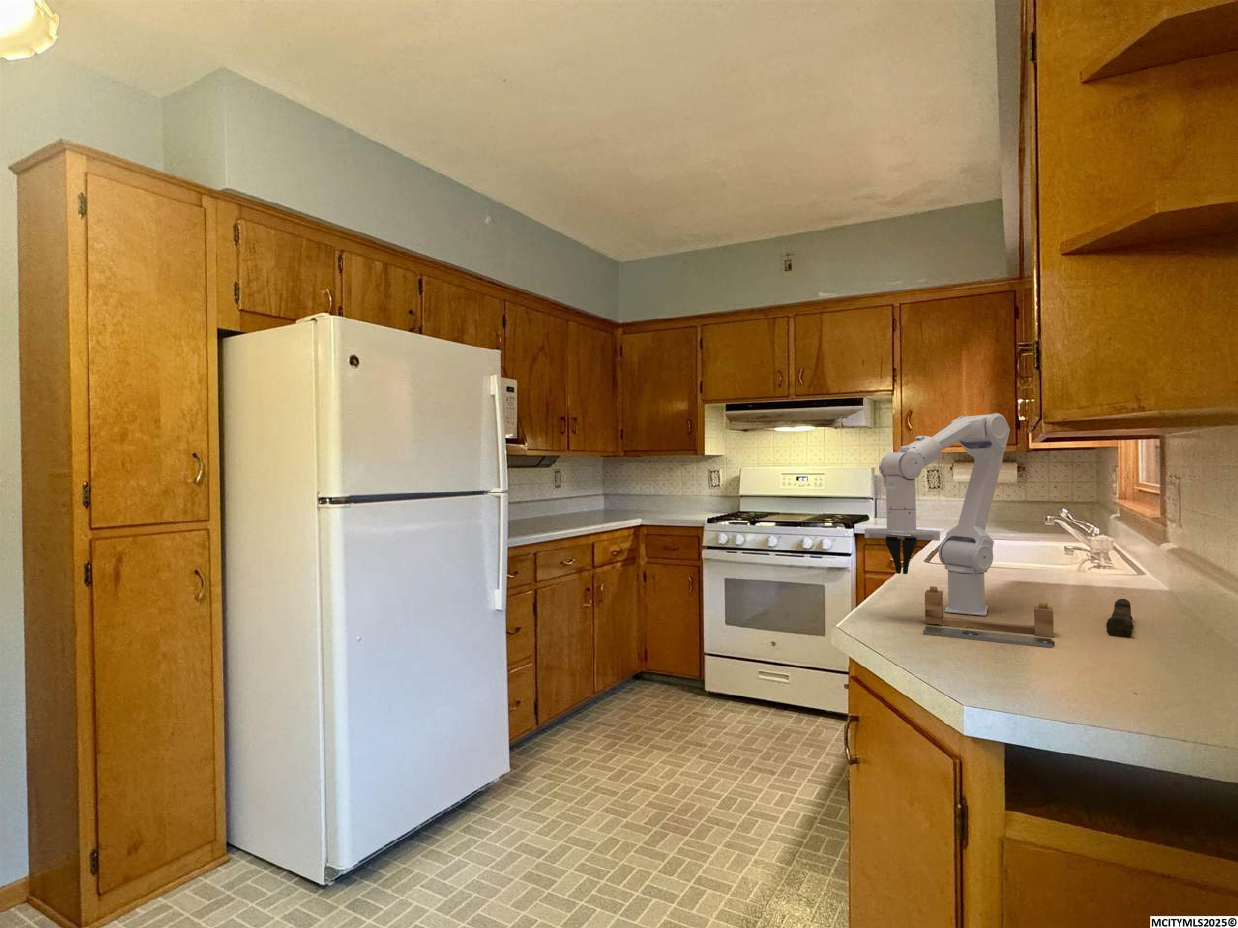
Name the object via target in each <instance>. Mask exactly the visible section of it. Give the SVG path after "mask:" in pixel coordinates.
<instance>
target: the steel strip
mask: <svg viewBox="0 0 1238 928" xmlns="http://www.w3.org/2000/svg"><path fill="white" fill-rule="evenodd" d="M922 632H923V633H922V634H923V635H927V634H929V635H928V636H936V635H938V636H937V637H945V636H948V637H949V638H955V637H956V638H958V639H964V638H965V639H966V640H973V641H974V640H975V641H976V640H977V641H985V642H993V643H995V642H996V643H1002V644H1011V645H1013V644H1014V645H1020V646H1021V645H1022V646H1031V647H1041V648H1051V649H1053V647H1055V644H1056V643H1055V640H1053V639H1052V638H1051V637H1041V636H1030V635H1019V634H1009V633H1007V634H1006V633H1000V632H999V633H998V632H989V631H977V630H970V629H969V630H968V629H958V628H949V627H940V626H939V627H938V626H930V625H929V626H928V625H925V627H924V628H923V631H922ZM948 637H947V638H948ZM956 638H955V639H956Z"/></svg>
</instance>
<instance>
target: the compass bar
mask: <svg viewBox="0 0 1238 928" xmlns="http://www.w3.org/2000/svg"><path fill="white" fill-rule="evenodd" d="M1033 618H1034V619H1033V622H1034V623H1033V624H1034V625H1031V624H1021V623H1011V622H1010V623H1009V622H998V621H988V620H987V621H985V620H975V619H968V618H967V619H965V618H964V619H963V618H954V617H944V616H943V617H942V624H944V625H943V626H945V625H954V626H953V627H955V626H966V627H973V628H972V629H976V628H982V629H981V630H986V629H989V630H990V631H996V630H998V631H997V632H1007V633H1016V634H1017V633H1018V634H1027V635H1034V637H1044V638H1055V632H1054V608H1053V606H1050V605H1048V602H1045V601H1039V602H1038V605H1036V604H1034V605H1033ZM966 627H965V628H966Z"/></svg>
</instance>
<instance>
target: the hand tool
mask: <svg viewBox="0 0 1238 928" xmlns="http://www.w3.org/2000/svg"><path fill="white" fill-rule="evenodd" d="M1131 609H1132V607H1131V602H1130V600H1128V599H1126V598H1119V599H1117V600H1116V601H1115V602H1114V609H1113V612H1112V613H1111V616H1110V617H1109V618H1108V619H1107V621H1106V625H1105V627H1106V633H1107V635H1109V636H1110V637H1117V638H1123V639H1124V638H1127V639H1128V638H1130V637H1131V636H1132V635H1133V630H1134V623H1133V621H1134V620H1133V616H1132V611H1131Z"/></svg>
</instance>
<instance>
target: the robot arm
mask: <svg viewBox="0 0 1238 928" xmlns="http://www.w3.org/2000/svg"><path fill="white" fill-rule="evenodd" d="M1010 431H1011V429H1010V427H1009V424H1008V422H1007V420H1006V418H1005V416H1004V415H1002V414H1001V413H997V412H996V413H995V412H994V413H991V414H980V415H969V416H966V415H961V416H959V417H957V418H956V419H952V420H951V423H950V424H949V425H947V426H946V427H945V428H943V429H941V430H940V431H938V433H936V434H934V435H933V436H932V437H931V436H928V435H917V436H916V437H914V441H913V442H911V443H909V444H907V445H902V446H901V447H899V450H897V452H895V451H894V452H888V453H887V454H885V455H884V457H883V458H882V459H881V461H880V465H878V470H879V473H880V475H881V476H882V479H883V485H884V487H885V501H886V502H885V504H886V505H885V506H886V509H885V510H886V528H885V527H884V528H880V527H879V528H878V527H877V528H876V527H875V528H874V527H873V528H868V527H867V528H864V538H865V539H872V538H873V539H875V538H876V539H885V541H884V542H885V545H886V547H887V549H888V551H889V553H890V555H891V559H892V560H893V563H894V567H895V572H896V574H897V575H898V574H899V575H900V574H901V573H902V575H908V573H909V566H910V563H911V558H912V555H913V553H914V550H915V549H916V547H917V545H918V542H919V540H920V541H921V540H925V541H934V542H937V541H938V542H939V541H940V540H941V536H940V535H941V532H940V531H941V530H937V529H936V530H934V529H931V530H930V529H919V528H918V529H917V511H916V510H917V509H916V508H917V507H916V505H917V504H916V479H918V478H919V476H920V475H921V474H922V469H924V468H925V467H927V466H928V465H930V464H932V463H933V462H935V461H937V460H938V459H940V457H941V456H942V450H945V449H947V448H949V447H951V446H953V445H955V444H957V443H958V444H959V445H960V446H961V447H962V448H963V450H964V451H965V452H966V453H967V455H970V456H972V458H973V460H974V461H973V465H972V471H971V473H970V474H971V475H970V476H969V477H970V478H969V480H968V486H967V489H966V492H965V496H964V500H963V504H962V508H961V510H960V511H961V512H960V516H959V520H958V524H957V525H956V526H954V527H953V528H951V529H949V530H948V531H947V532H946V533H945V538H944V539H943V541H942V542H941V544H940V545H939V549H938V558H939V561H940V562H941V564H942V565H943V566H944V569H945V570H947V605H946V607H945V609H944V612H945V613H952V614H960V615H961V614H962V615H973V616H974V615H975V616H983V617H984V616H987V614H988V610H989V605H987V604H986V600H985V597H986V596H985V595H986V594H985V573H988V570H989V569H990V568H991V567H992V565H993V562H994V552H993V551H994V550H993V549H994V545H995V541H994V540H993V538H992V537H991V535H989V533H987V531H986V528H987V523H988V519H989V516H990V510H991V507H992V504H993V500H994V496H995V492H996V488H997V484H998V480H999V476H1000V473H1001V468H1002V465H1003V462H1004V461H1003V460H1004V453H1005V452H1006V447H1007V444H1008V439H1009V436H1010ZM901 544H902V546H901ZM901 548H902V556H901ZM901 557H902V560H901Z"/></svg>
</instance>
